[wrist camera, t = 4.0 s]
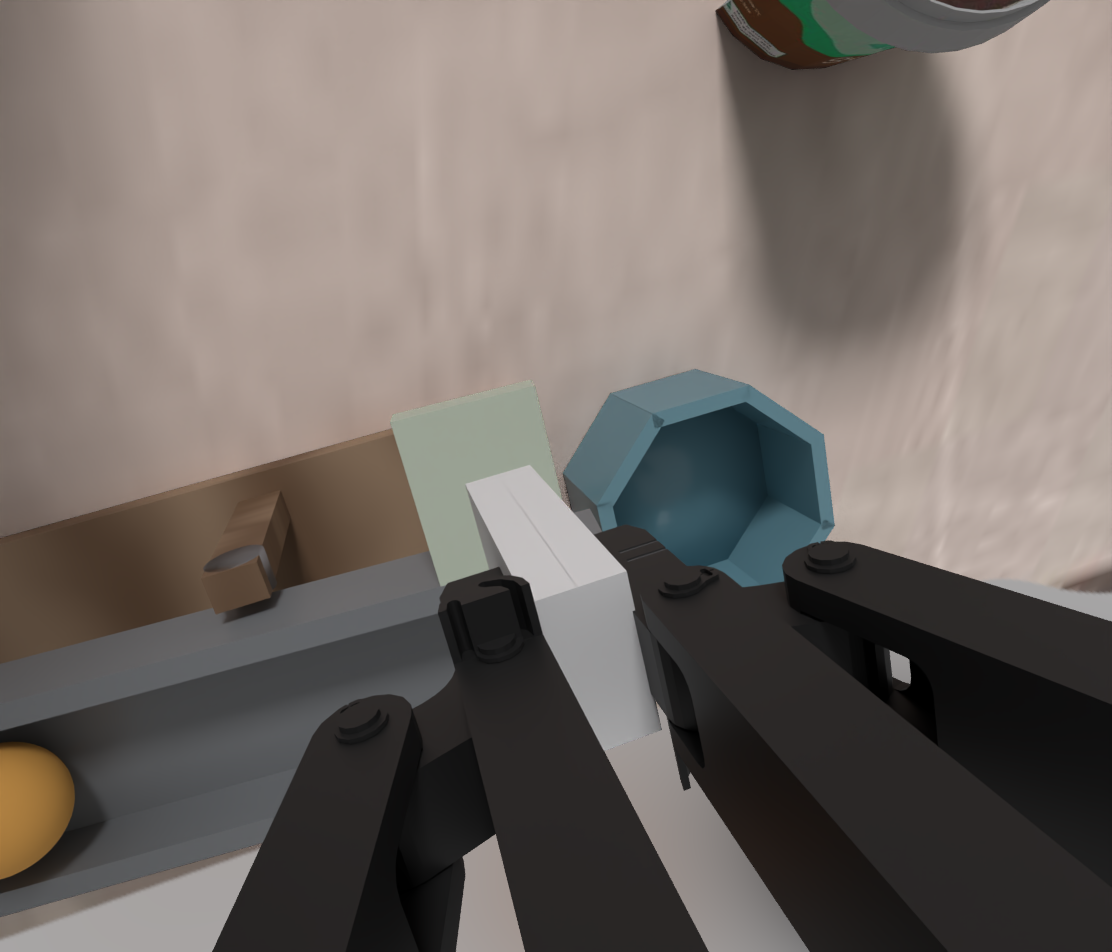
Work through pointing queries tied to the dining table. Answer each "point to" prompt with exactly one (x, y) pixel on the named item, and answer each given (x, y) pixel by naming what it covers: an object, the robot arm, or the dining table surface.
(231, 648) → the trough
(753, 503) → the cup
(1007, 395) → the dining table surface
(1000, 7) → the food container
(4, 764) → the ball
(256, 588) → the stand
